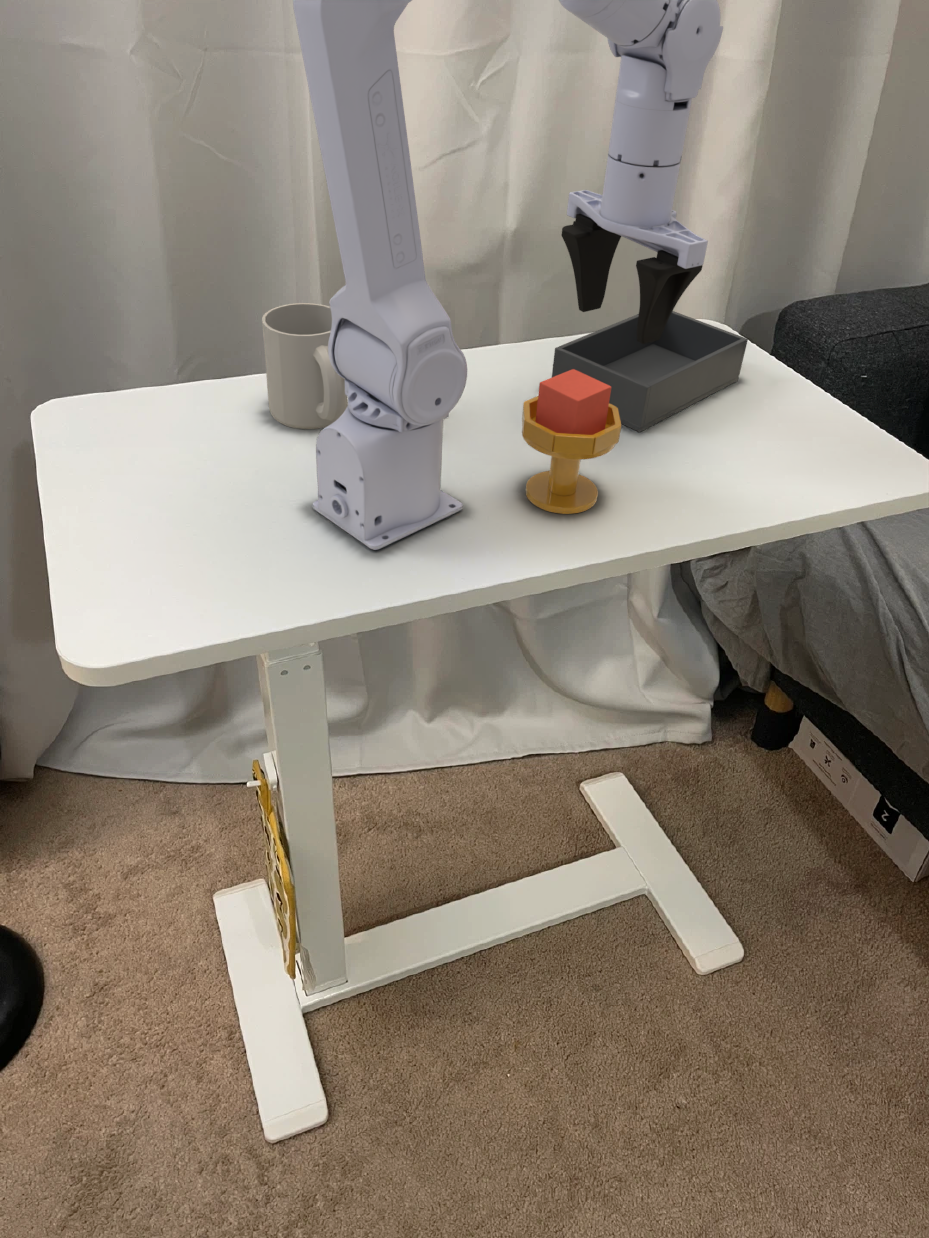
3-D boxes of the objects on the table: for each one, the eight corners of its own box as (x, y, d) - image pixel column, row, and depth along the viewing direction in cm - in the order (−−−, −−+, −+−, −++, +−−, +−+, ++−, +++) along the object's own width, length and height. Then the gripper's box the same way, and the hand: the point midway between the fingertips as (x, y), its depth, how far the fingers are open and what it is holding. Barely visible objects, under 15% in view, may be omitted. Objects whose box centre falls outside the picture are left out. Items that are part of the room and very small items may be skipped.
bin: (639, 432, 93) (647, 387, 90) (549, 391, 99) (554, 348, 96) (738, 380, 103) (748, 338, 100) (651, 345, 108) (658, 305, 106)
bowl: (564, 530, 79) (576, 447, 75) (497, 490, 84) (504, 409, 79) (625, 498, 84) (639, 417, 79) (558, 462, 88) (567, 383, 83)
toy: (571, 447, 78) (577, 401, 75) (534, 428, 80) (539, 382, 77) (604, 432, 80) (612, 386, 77) (567, 413, 82) (573, 368, 80)
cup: (327, 388, 97) (324, 298, 91) (374, 434, 90) (374, 340, 84) (257, 403, 93) (249, 310, 88) (300, 451, 87) (294, 355, 81)
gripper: (748, 176, 76) (711, 346, 84) (620, 130, 85) (598, 288, 93) (682, 187, 72) (650, 363, 81) (555, 139, 81) (538, 302, 90)
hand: (618, 324), depth 87 cm, fingers open, 7 cm apart
